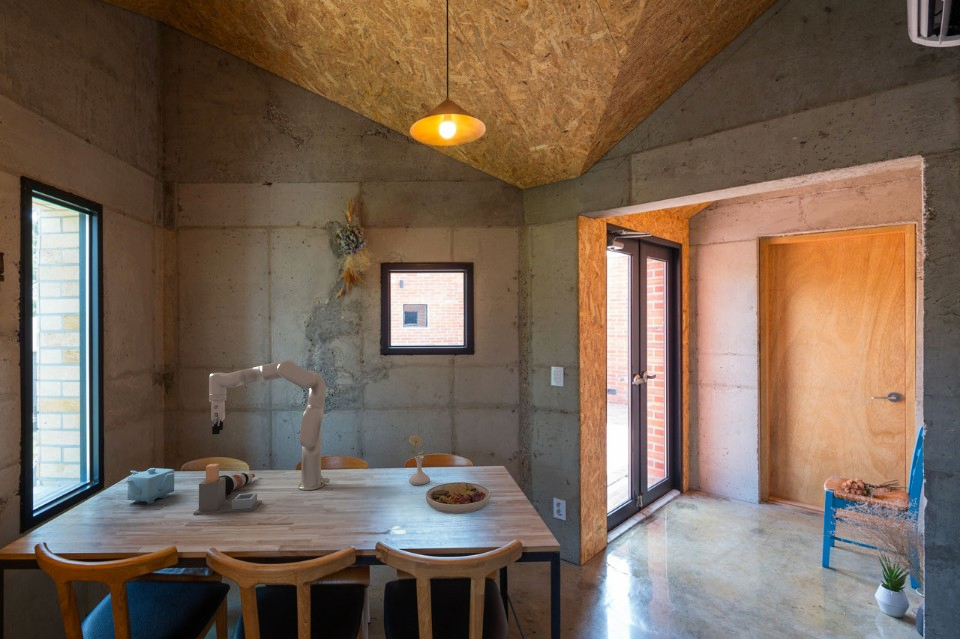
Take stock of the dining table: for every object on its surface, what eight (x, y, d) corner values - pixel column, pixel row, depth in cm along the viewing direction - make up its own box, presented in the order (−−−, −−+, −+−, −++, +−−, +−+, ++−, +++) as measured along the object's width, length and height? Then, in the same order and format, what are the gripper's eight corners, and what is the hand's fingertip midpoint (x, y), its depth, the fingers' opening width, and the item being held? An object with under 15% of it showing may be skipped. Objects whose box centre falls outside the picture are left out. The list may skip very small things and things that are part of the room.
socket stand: (261, 502, 216) (261, 474, 216) (253, 511, 205) (253, 482, 205) (204, 505, 212) (204, 477, 212) (193, 515, 201) (193, 485, 201)
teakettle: (174, 490, 233) (174, 461, 233) (174, 501, 217) (174, 470, 218) (127, 498, 222) (127, 467, 223) (123, 510, 207) (124, 477, 207)
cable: (256, 488, 247) (265, 471, 248) (213, 505, 214) (224, 486, 214) (241, 479, 249) (250, 462, 250) (196, 495, 215) (207, 475, 216)
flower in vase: (434, 482, 243) (434, 434, 243) (420, 488, 233) (420, 439, 234) (415, 478, 250) (415, 432, 250) (401, 484, 240) (401, 436, 241)
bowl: (412, 504, 213) (412, 487, 213) (458, 487, 235) (458, 472, 235) (457, 522, 192) (457, 503, 192) (503, 502, 214) (503, 485, 214)
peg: (218, 485, 210) (219, 463, 210) (215, 488, 206) (215, 466, 206) (209, 486, 209) (209, 464, 209) (205, 489, 205) (205, 466, 205)
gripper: (223, 399, 221) (223, 435, 221) (228, 395, 237) (228, 428, 237) (205, 400, 218) (205, 436, 218) (212, 395, 234) (212, 429, 234)
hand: (217, 432), depth 227 cm, fingers open, 9 cm apart
